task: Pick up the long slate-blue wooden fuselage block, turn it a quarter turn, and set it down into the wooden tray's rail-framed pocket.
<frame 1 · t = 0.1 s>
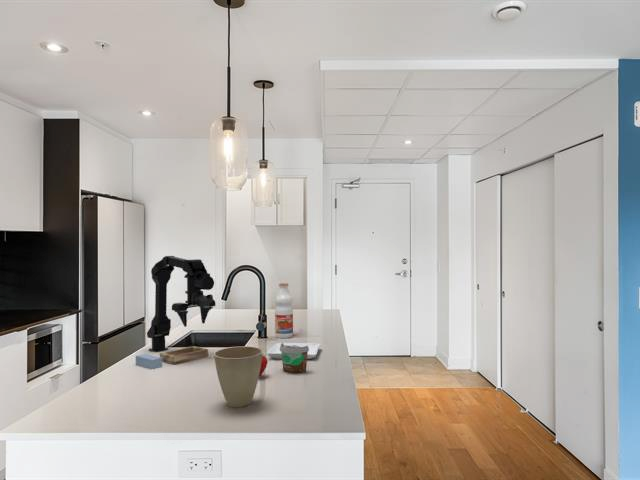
hand: (194, 325, 197), 15 cm above the counter, tool pointing down, fingers open, 9 cm apart
food container: (291, 372, 175), on the counter
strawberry: (259, 377, 169), on the counter
salad plate: (295, 355, 202), on the counter
fruit juice: (284, 337, 241), on the counter
wooden tray: (184, 358, 198), on the counter
fuselage block: (148, 366, 187), on the counter
plant pot: (239, 403, 142), on the counter
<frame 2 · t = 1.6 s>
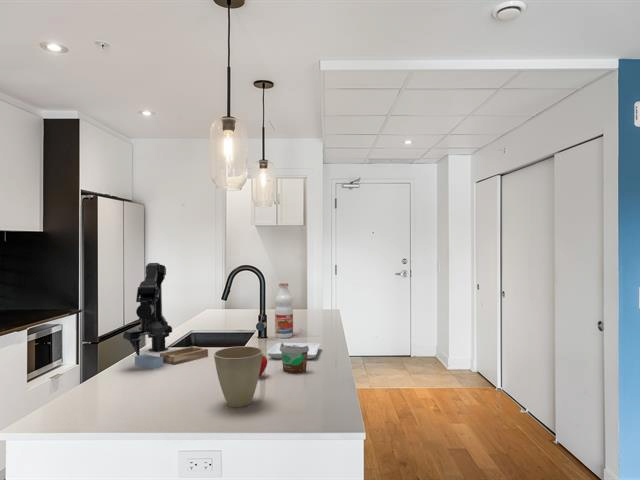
hand: (148, 353, 187), 5 cm above the counter, tool pointing down, fingers open, 9 cm apart
nothing on the counter moved.
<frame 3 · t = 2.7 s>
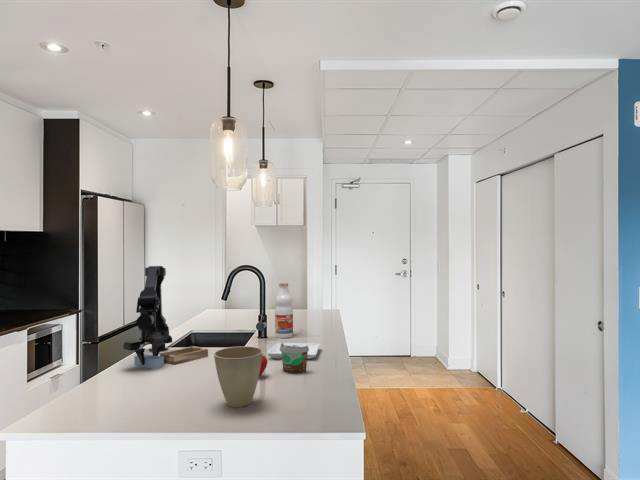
hand: (148, 363, 187), 1 cm above the counter, tool pointing down, fingers closed on fuselage block, 5 cm apart
fuselage block: (148, 366, 187), on the counter, touching gripper
everything else where it was.
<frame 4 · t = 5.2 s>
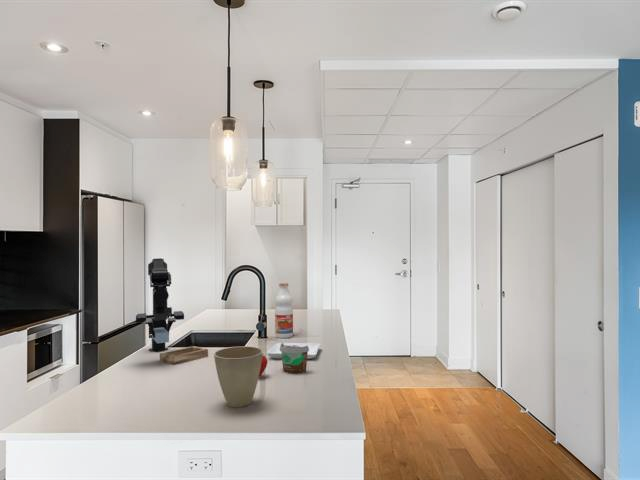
hand: (160, 337, 191), 11 cm above the counter, tool pointing down, fingers closed on fuselage block, 5 cm apart
fuselage block: (160, 339, 191), point 10 cm above the counter, touching gripper
everything else where it was.
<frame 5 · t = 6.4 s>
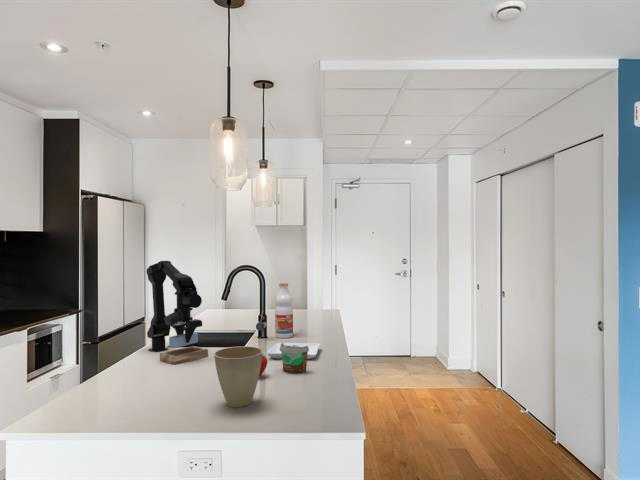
hand: (183, 341, 198), 7 cm above the counter, tool pointing down, fingers closed on fuselage block, 5 cm apart
fuselage block: (184, 344, 198), point 6 cm above the counter, touching gripper
everything else where it was.
when the fingers open (4 cm above the counter, at t = 7.3 s): fuselage block drops 2 cm, resting on wooden tray.
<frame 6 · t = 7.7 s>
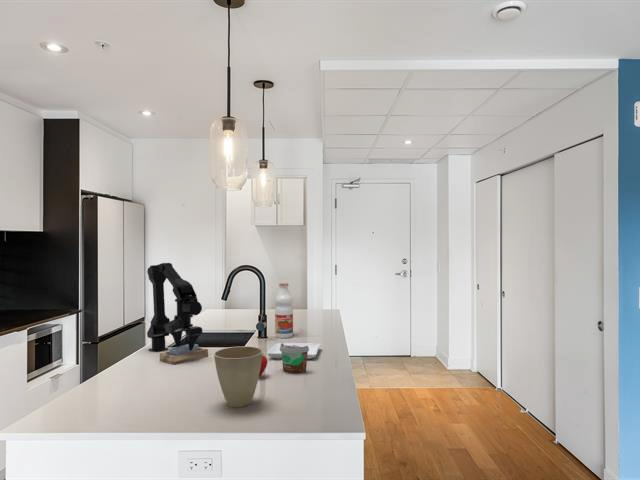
hand: (184, 348, 198), 4 cm above the counter, tool pointing down, fingers open, 9 cm apart
fuselage block: (184, 355, 198), point 1 cm above the counter, touching wooden tray
everything else where it was.
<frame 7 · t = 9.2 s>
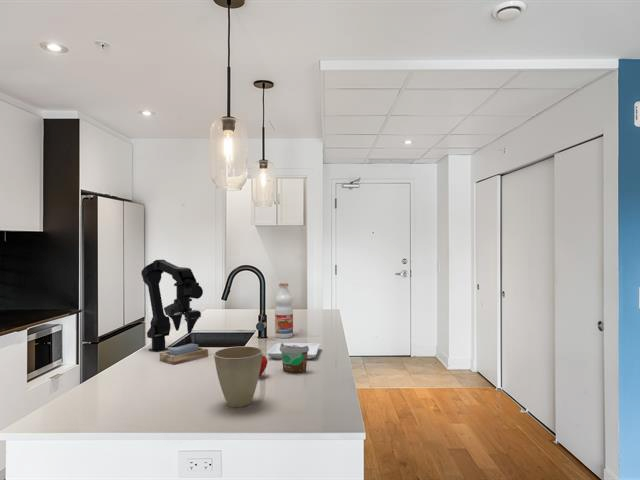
hand: (183, 332, 203), 11 cm above the counter, tool pointing down, fingers open, 9 cm apart
nothing on the counter moved.
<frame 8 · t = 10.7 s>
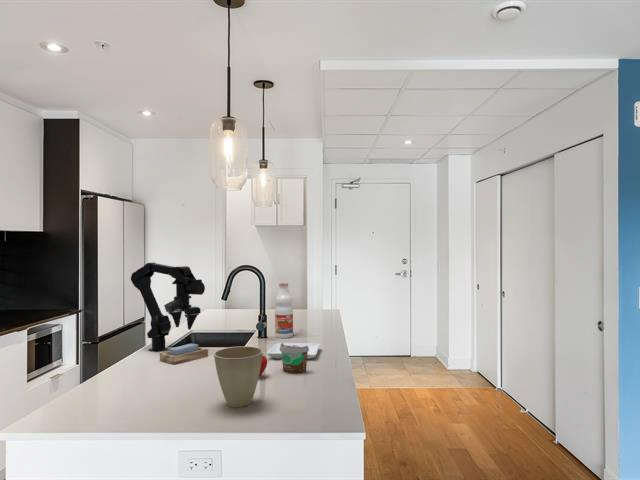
hand: (183, 328, 209), 11 cm above the counter, tool pointing down, fingers open, 9 cm apart
nothing on the counter moved.
at the end: fuselage block 0.0 cm off-centre on the wooden tray, point 1.2 cm above the wooden tray's base; fuselage block tilted 0°; the gripper is holding nothing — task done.
